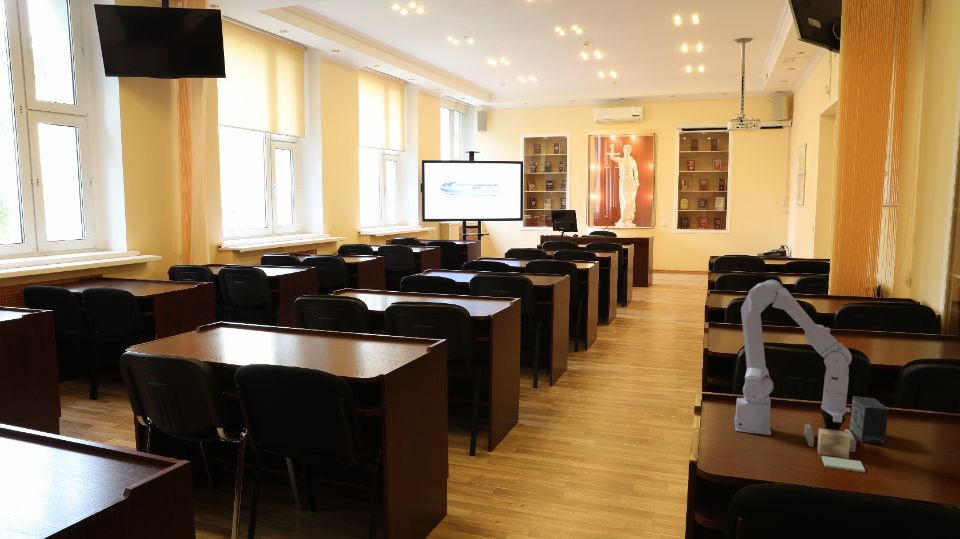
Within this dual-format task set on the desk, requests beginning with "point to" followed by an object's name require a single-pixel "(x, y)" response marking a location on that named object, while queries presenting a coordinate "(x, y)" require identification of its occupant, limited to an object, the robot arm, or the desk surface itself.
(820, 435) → the block
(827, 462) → the mat
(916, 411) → the desk surface
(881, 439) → the small box
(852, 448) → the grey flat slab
